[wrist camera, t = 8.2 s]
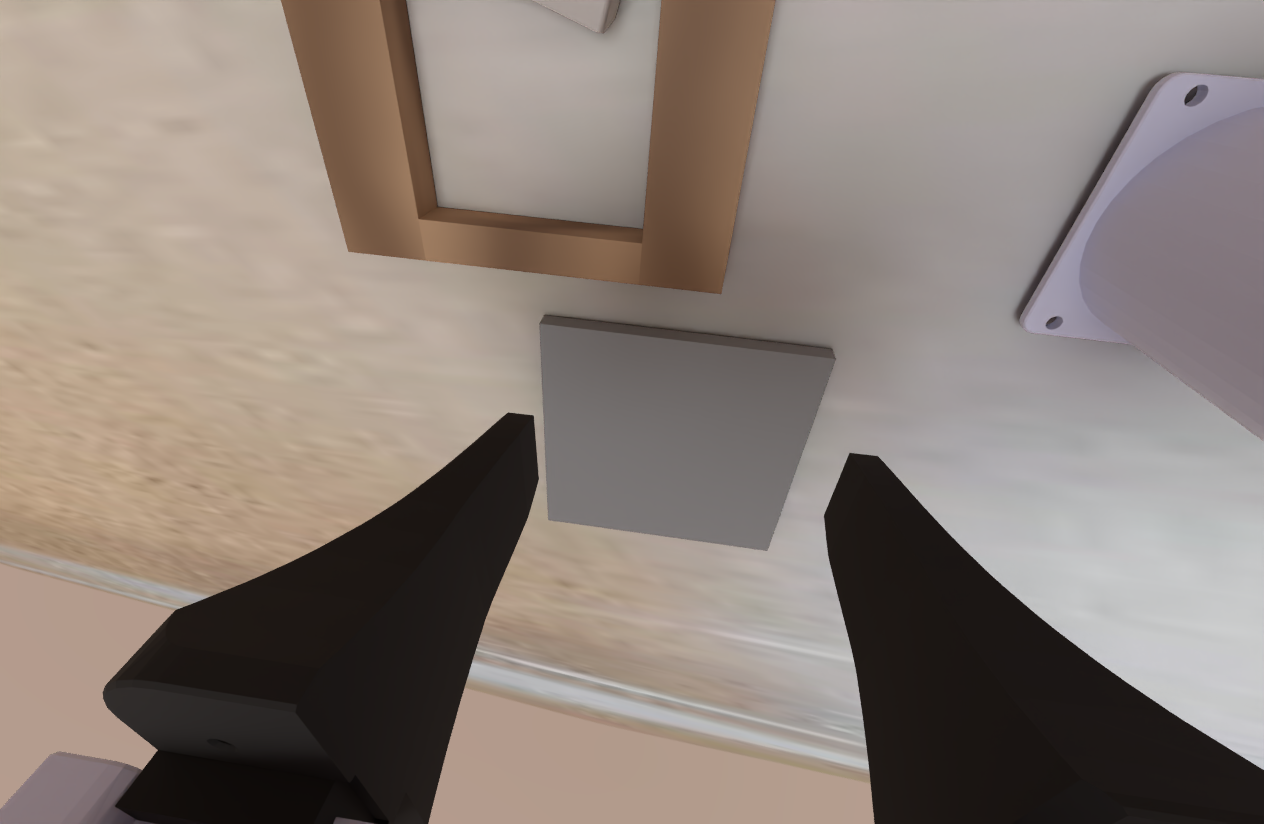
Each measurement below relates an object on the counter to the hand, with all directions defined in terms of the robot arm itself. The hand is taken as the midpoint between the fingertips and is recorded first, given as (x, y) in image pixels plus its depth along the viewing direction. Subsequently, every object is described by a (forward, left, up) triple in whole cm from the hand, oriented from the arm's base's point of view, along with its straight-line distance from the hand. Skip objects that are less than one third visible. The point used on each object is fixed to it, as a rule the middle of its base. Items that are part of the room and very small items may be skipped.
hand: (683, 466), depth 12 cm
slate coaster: (0, +8, -10) cm, 13 cm away
